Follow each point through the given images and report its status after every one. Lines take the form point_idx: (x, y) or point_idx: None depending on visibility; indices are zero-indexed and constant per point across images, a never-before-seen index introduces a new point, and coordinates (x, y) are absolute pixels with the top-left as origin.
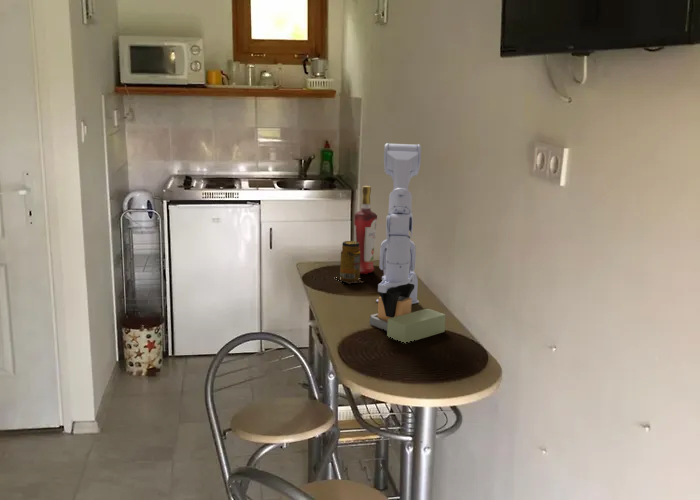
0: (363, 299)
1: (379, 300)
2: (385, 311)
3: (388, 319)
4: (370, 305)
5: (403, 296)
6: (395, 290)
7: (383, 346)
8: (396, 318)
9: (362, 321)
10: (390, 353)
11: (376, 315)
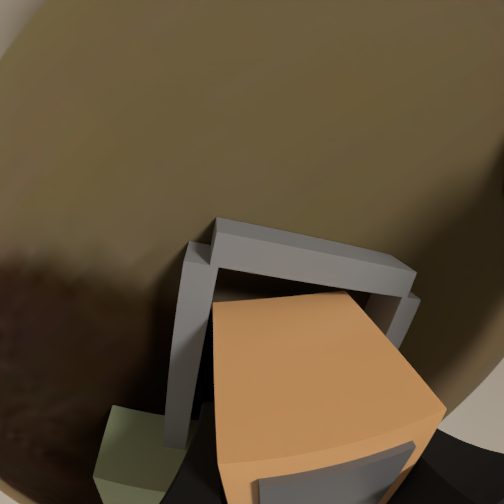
0: (499, 11)
1: (217, 441)
2: (196, 429)
3: (94, 476)
4: (479, 58)
5: (393, 498)
6: (438, 492)
7: (41, 424)
8: (137, 496)
9: (207, 155)
10: (34, 449)
11: (254, 272)
